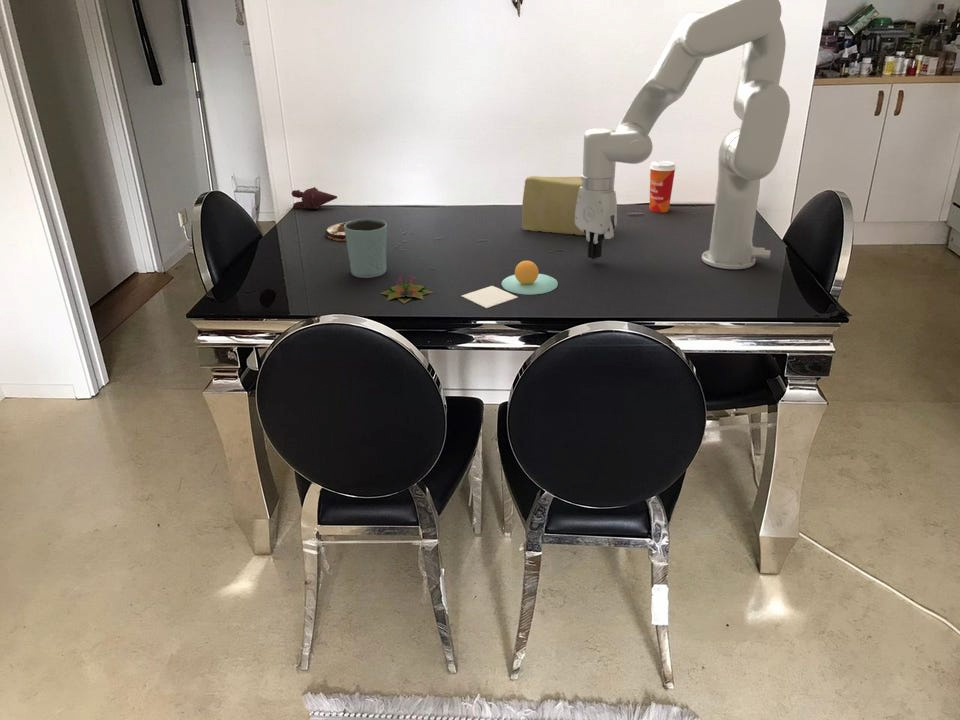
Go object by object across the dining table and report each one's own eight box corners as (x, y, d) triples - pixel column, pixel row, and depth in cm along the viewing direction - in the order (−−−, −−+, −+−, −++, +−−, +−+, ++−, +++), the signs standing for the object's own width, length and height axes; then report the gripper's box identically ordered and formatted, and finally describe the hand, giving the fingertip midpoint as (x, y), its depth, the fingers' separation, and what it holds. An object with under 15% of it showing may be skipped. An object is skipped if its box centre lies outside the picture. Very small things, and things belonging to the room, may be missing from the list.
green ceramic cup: (345, 267, 186) (340, 221, 180) (384, 262, 189) (380, 215, 183) (354, 281, 177) (348, 232, 172) (395, 275, 180) (391, 227, 175)
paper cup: (641, 208, 226) (644, 161, 219) (663, 205, 228) (668, 159, 221) (654, 215, 219) (658, 167, 213) (677, 212, 221) (682, 164, 215)
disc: (562, 276, 177) (562, 275, 177) (551, 296, 166) (551, 296, 166) (509, 271, 180) (509, 271, 180) (495, 291, 169) (495, 290, 169)
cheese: (519, 235, 206) (519, 180, 199) (525, 224, 214) (525, 172, 207) (600, 238, 202) (603, 183, 195) (602, 227, 210) (605, 174, 203)
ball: (523, 256, 169) (512, 277, 169) (544, 267, 170) (533, 288, 170) (519, 256, 174) (509, 277, 175) (540, 267, 175) (529, 288, 175)
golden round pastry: (344, 248, 201) (342, 233, 199) (312, 237, 210) (310, 223, 208) (386, 235, 210) (385, 221, 208) (354, 225, 219) (352, 211, 217)
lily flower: (369, 296, 170) (367, 277, 168) (410, 282, 178) (408, 263, 176) (403, 310, 163) (401, 291, 161) (443, 294, 170) (442, 276, 168)
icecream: (340, 185, 234) (296, 188, 237) (331, 185, 226) (285, 188, 230) (342, 208, 235) (298, 210, 238) (333, 208, 228) (288, 211, 231)
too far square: (492, 286, 172) (492, 285, 172) (517, 297, 166) (517, 296, 166) (461, 296, 167) (461, 295, 167) (486, 308, 161) (486, 307, 161)
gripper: (564, 180, 179) (562, 253, 187) (610, 192, 168) (606, 268, 177) (586, 174, 183) (583, 246, 191) (633, 186, 172) (627, 261, 181)
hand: (594, 256), depth 184 cm, fingers closed
